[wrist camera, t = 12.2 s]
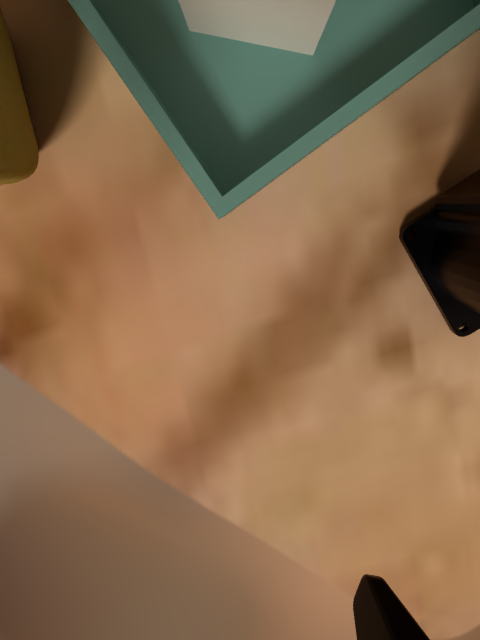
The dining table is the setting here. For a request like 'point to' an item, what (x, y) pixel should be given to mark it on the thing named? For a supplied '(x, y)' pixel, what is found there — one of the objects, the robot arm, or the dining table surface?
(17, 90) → the flower pot
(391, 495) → the dining table surface
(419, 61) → the teal bin
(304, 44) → the stone block
